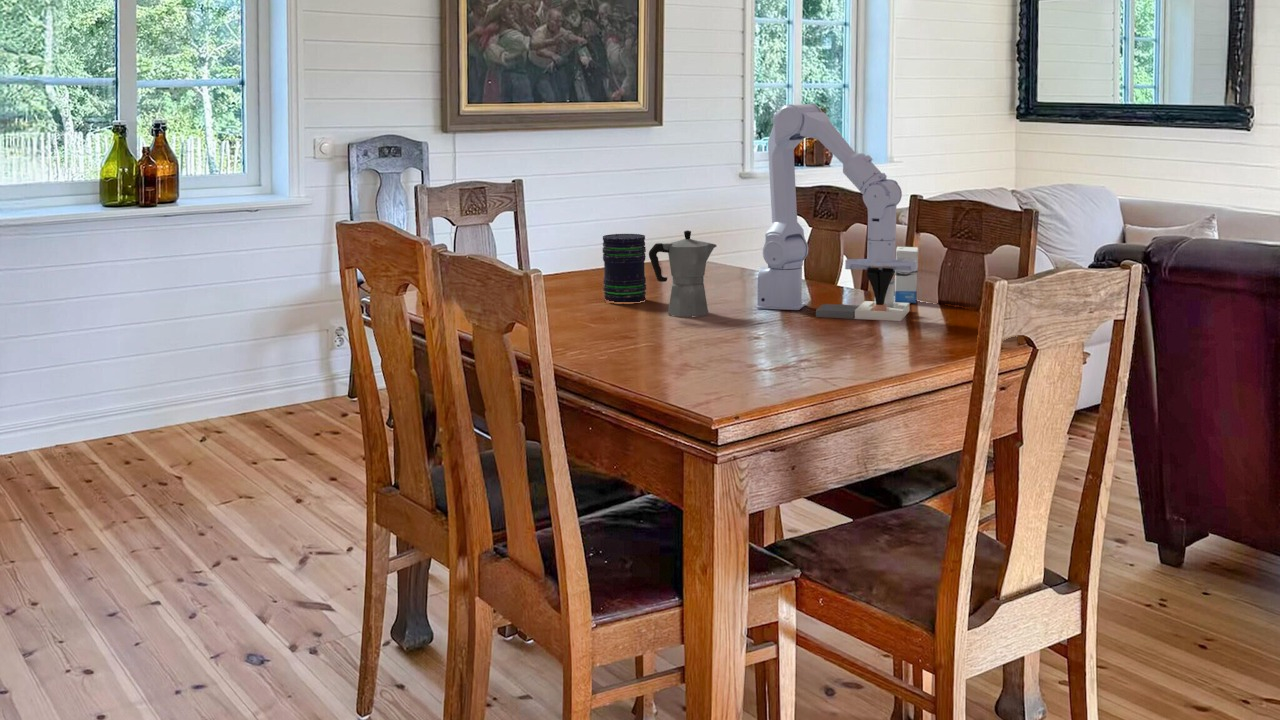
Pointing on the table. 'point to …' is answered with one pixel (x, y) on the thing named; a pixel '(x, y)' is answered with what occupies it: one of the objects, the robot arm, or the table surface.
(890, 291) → the cylinder
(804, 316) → the table surface
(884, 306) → the peach rounded piece
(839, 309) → the pad
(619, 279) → the storage jar
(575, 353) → the table surface
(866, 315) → the white plate with holes
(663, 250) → the coffeepot
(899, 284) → the ink box
